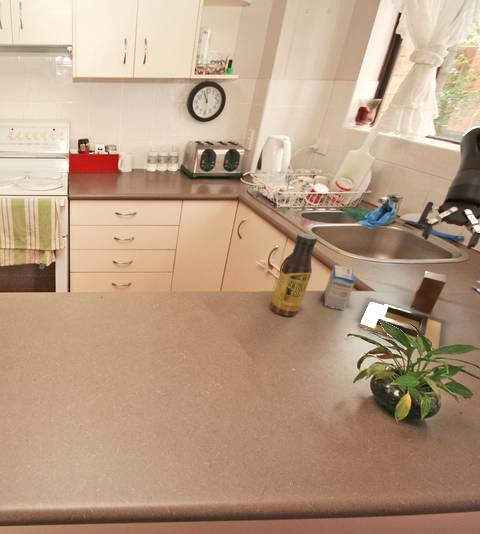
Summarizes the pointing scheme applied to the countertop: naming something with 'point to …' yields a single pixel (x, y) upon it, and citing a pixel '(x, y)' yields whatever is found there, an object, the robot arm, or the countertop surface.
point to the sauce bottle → (294, 277)
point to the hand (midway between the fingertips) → (447, 242)
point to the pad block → (428, 292)
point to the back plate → (401, 322)
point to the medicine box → (339, 287)
